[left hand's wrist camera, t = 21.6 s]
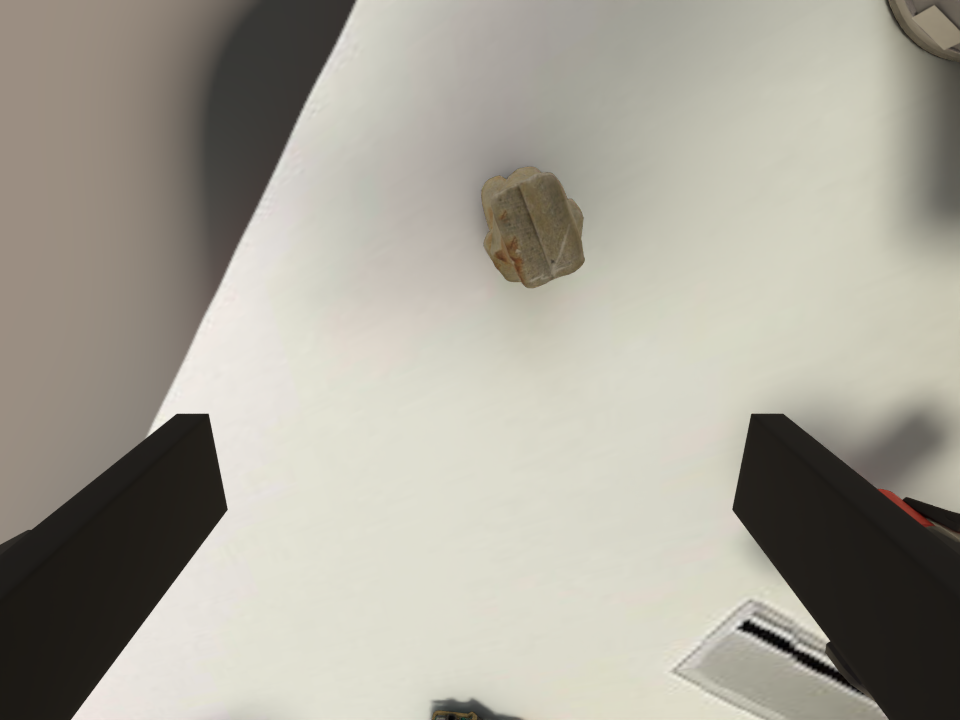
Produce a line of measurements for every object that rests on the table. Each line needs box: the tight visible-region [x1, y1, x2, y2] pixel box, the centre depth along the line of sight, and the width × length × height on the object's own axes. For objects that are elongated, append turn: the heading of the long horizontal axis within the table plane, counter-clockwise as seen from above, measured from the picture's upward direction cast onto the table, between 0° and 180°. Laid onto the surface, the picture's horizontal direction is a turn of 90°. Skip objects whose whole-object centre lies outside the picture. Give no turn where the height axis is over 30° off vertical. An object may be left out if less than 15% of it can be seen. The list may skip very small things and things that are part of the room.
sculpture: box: [481, 167, 585, 288], centre depth 31 cm, size 6×7×15 cm
